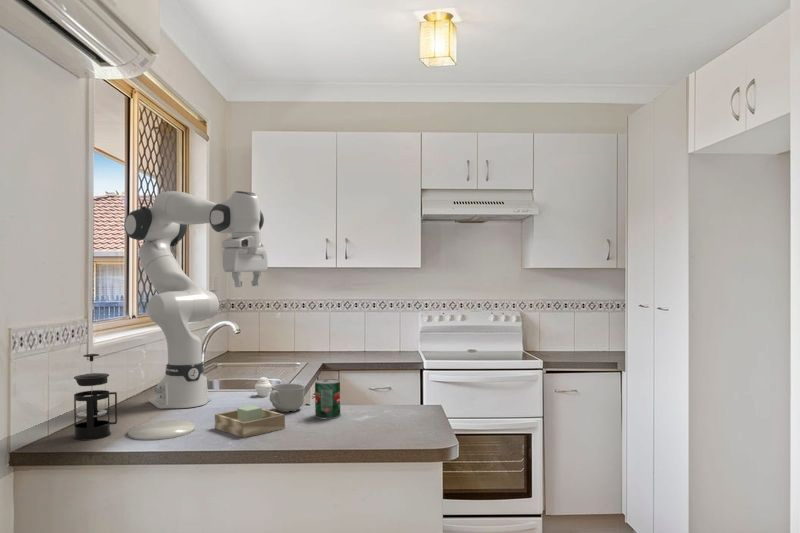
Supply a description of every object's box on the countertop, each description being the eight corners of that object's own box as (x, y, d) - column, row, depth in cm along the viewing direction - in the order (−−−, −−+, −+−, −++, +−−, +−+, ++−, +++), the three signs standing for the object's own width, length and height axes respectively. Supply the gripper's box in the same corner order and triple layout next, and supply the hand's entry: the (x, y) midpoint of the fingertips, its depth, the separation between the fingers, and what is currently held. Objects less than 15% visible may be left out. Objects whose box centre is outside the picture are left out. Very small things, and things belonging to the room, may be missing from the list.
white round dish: (117, 432, 184) (117, 428, 184) (177, 420, 197) (176, 417, 197) (144, 443, 171) (144, 440, 171) (206, 430, 184) (206, 427, 184)
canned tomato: (344, 416, 199) (344, 381, 199) (321, 420, 195) (320, 384, 195) (334, 412, 206) (333, 377, 206) (311, 415, 202) (311, 380, 202)
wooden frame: (215, 428, 187) (214, 414, 187) (255, 419, 197) (255, 406, 197) (243, 437, 176) (243, 423, 176) (285, 428, 186) (284, 414, 186)
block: (237, 428, 186) (237, 408, 186) (252, 425, 190) (252, 405, 190) (247, 431, 183) (246, 410, 183) (262, 428, 186) (261, 407, 186)
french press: (68, 442, 174) (67, 357, 174) (73, 433, 183) (72, 353, 183) (115, 437, 178) (114, 354, 178) (118, 429, 187) (117, 350, 187)
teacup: (290, 405, 217) (289, 381, 217) (312, 409, 210) (311, 385, 210) (256, 412, 206) (256, 387, 206) (278, 417, 200) (278, 391, 200)
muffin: (267, 398, 229) (266, 378, 229) (251, 397, 231) (251, 377, 231) (274, 394, 235) (274, 375, 235) (259, 393, 237) (259, 374, 237)
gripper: (255, 243, 212) (256, 285, 212) (218, 241, 193) (219, 287, 193) (272, 243, 210) (272, 285, 210) (236, 241, 191) (237, 287, 191)
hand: (246, 286), depth 201 cm, fingers open, 8 cm apart
